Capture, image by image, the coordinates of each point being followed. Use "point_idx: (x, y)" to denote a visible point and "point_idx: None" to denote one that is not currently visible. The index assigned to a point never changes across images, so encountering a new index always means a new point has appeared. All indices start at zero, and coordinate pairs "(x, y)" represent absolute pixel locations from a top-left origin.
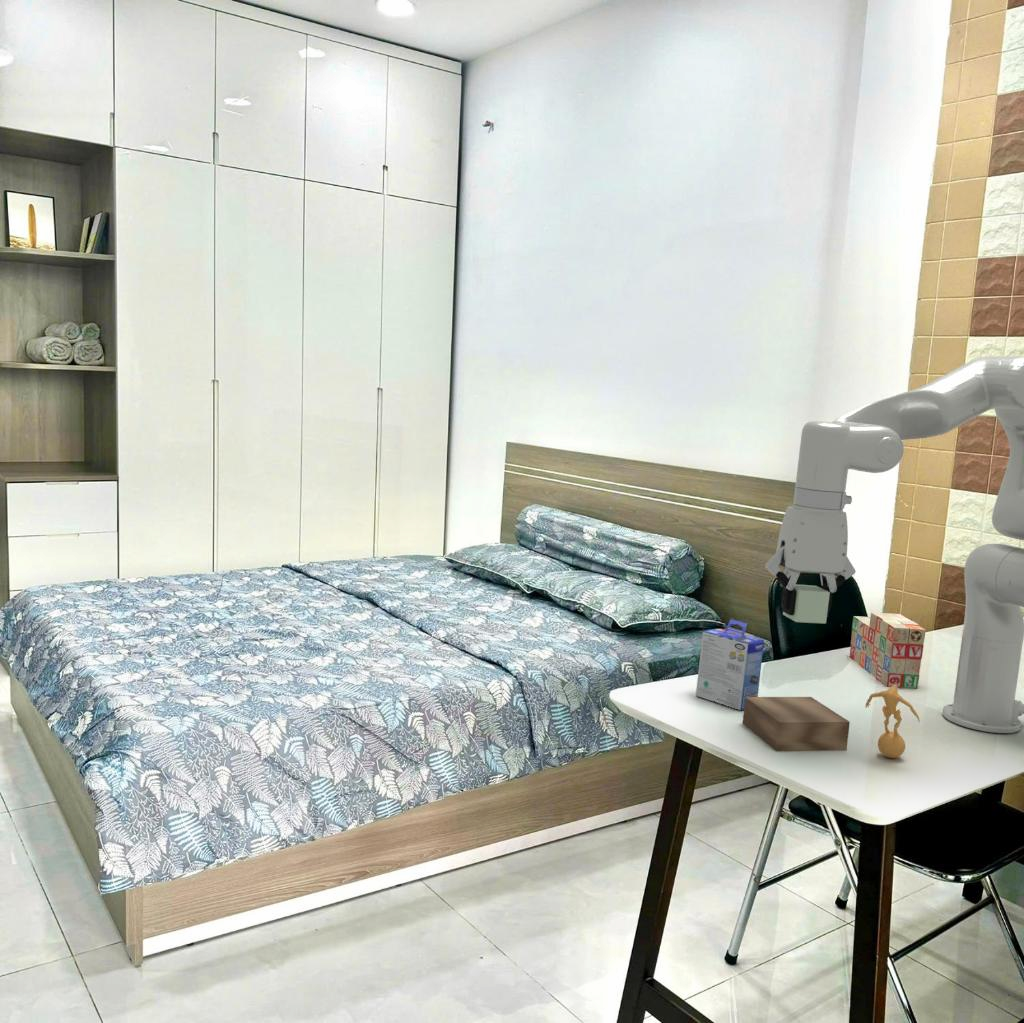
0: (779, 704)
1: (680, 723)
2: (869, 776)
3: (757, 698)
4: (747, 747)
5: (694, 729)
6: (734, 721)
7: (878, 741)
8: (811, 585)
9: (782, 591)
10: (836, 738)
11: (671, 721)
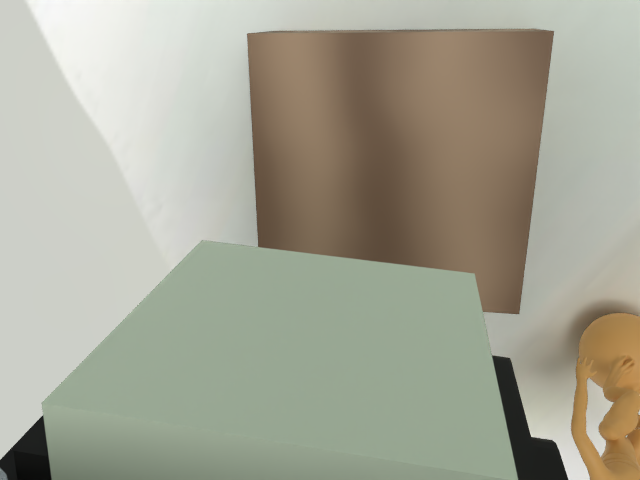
0: (348, 128)
1: (69, 22)
2: None
3: (290, 54)
4: (211, 226)
5: (100, 79)
6: (256, 4)
7: (587, 340)
8: (437, 476)
9: (4, 459)
10: None
11: (44, 2)
